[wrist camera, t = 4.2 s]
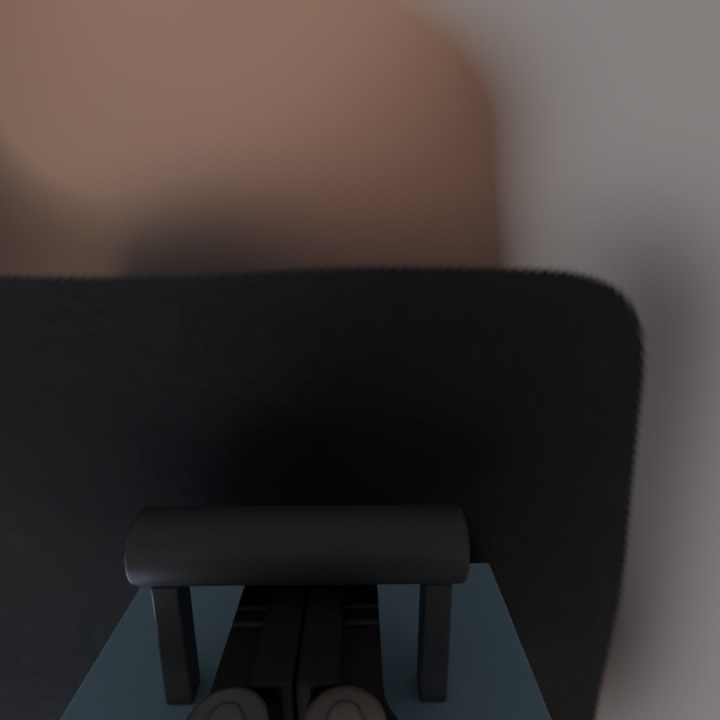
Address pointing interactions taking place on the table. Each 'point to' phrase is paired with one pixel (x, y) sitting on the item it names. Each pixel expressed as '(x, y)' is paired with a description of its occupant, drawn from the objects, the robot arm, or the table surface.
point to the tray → (311, 567)
